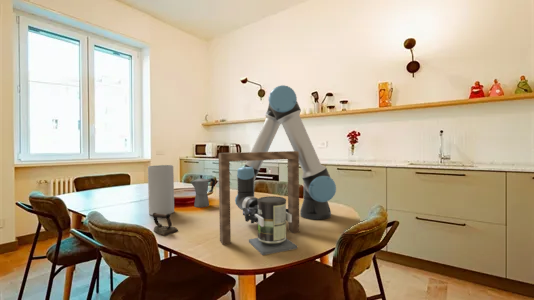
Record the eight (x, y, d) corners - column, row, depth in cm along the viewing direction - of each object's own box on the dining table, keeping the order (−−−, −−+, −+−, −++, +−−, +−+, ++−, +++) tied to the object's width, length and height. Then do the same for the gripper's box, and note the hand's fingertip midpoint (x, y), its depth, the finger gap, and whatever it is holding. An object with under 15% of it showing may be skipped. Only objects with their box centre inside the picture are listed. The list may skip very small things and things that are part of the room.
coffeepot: (193, 208, 151) (193, 176, 151) (188, 205, 159) (187, 175, 158) (218, 204, 160) (218, 174, 160) (212, 202, 168) (211, 173, 167)
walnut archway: (294, 229, 113) (293, 151, 113) (299, 232, 110) (298, 151, 109) (219, 241, 100) (218, 153, 100) (222, 244, 97) (221, 153, 96)
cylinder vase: (168, 208, 151) (167, 164, 151) (178, 213, 142) (177, 165, 142) (145, 213, 143) (144, 166, 142) (154, 217, 134) (153, 167, 133)
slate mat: (280, 236, 104) (280, 234, 104) (297, 248, 93) (297, 245, 93) (248, 241, 99) (248, 239, 99) (262, 255, 87) (262, 252, 87)
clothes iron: (165, 237, 106) (159, 213, 106) (148, 239, 112) (142, 216, 112) (179, 231, 112) (173, 208, 112) (162, 233, 118) (156, 211, 118)
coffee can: (258, 244, 90) (258, 202, 90) (257, 234, 101) (256, 196, 100) (288, 243, 91) (288, 201, 91) (284, 233, 101) (283, 195, 101)
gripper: (278, 212, 117) (305, 226, 96) (227, 218, 108) (246, 236, 87) (277, 195, 117) (305, 206, 96) (227, 200, 107) (245, 213, 87)
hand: (277, 220), depth 92 cm, fingers closed on coffee can, 10 cm apart
